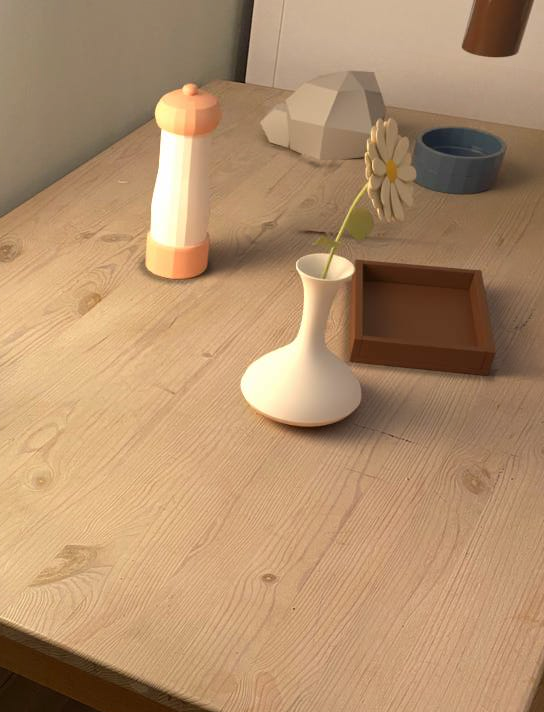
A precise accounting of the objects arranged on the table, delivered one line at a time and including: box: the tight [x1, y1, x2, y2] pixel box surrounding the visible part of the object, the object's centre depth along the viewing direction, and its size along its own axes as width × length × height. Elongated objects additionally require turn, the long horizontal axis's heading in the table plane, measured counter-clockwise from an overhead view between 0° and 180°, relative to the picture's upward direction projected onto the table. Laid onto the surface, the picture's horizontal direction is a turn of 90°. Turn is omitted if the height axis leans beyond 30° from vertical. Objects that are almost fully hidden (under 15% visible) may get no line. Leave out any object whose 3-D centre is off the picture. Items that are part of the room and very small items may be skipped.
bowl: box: [410, 125, 508, 195], centre depth 125 cm, size 11×11×5 cm
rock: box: [259, 70, 387, 161], centre depth 134 cm, size 18×20×10 cm
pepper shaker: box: [145, 83, 223, 280], centre depth 104 cm, size 7×7×19 cm
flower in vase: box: [240, 117, 416, 427], centre depth 83 cm, size 13×11×25 cm
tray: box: [348, 259, 497, 376], centre depth 100 cm, size 14×18×3 cm
